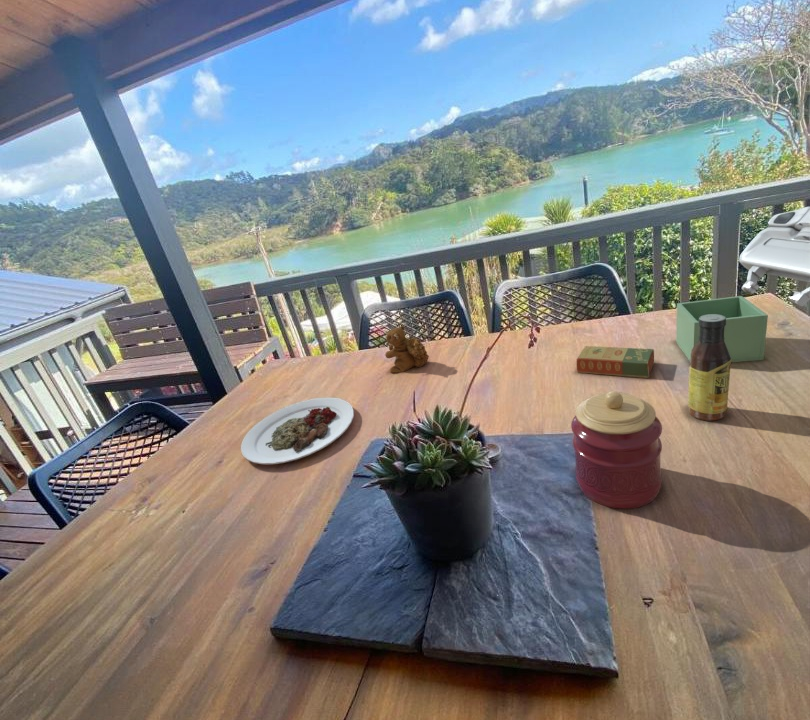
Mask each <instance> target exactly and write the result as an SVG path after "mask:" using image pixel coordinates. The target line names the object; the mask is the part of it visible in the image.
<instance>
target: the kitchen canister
mask: <svg viewBox="0 0 810 720" xmlns="http://www.w3.org/2000/svg"><path fill="white" fill-rule="evenodd" d="M570 424H571V425H570V427H571V431H572V433H573V438H572V447H573V449H574V460H575V461H574V462H575V467H574V468H575V469H574V473H575V479H576V482H577V484H578V488H579V489H580V491H581V492H582V493H583V494H584V495H585V496H586V497H587V498H588V499H590V500H591V501H594V502H595V503H597V504H599V505H601V506H604V507H609V508H613V509H621V510H624V509H626V510H628V509H635V508H640V507H644V506H646V505H648V504H650V503H652V502H653V501H654V500H655V499H656V498H657V497H658V496H659V494H660V490H661V487H662V482H663V480H662V476H663V475H662V472H661V457H662V456H661V453H662V450H663V444H662V441H661V438H660V437H661V435H662V432H663V425H662V423H661V421H660V419H659V418H658V417H657V414H656V410H655V408H654V407H653V406H652V405H651V404H650V403H649V402H648V401H646V400H644V399H643V398H639V397H637V396H635V395H633V394H629V393H625V392H618V391H613V390H612V391H608V392H603V393H598V394H595V395H593V396H591V397H589V398H587V399H585V400H583V401H581V402H580V403H579V404H578V405H577V407H576V409H575V414H574V416H573V418H572V420H571V423H570Z"/></svg>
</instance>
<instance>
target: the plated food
mask: <svg viewBox="0 0 810 720" xmlns="http://www.w3.org/2000/svg"><path fill="white" fill-rule="evenodd" d="M354 417H355V410H354V409H353V406H352V404H351V403H350V402H348V401H347V400H345V399H343V398H338V397H316V398H310V399H305V400H302V401H298V402H295V403H292V404H288V405H287V406H284V407H282V408H280V409H278V410H276V411H274V412H272V413H270V414H268V415H266V417H265V418H263V419H261V420H260V421H258V422H257V423H256V424H255V425H254V426H253V427H251V428H250V429H249V431H247V433H246V434H245V435H244V437H243V439H242V442H241V443H240V444H241V445H240V451H241V455H242V456H243V457H244V459H246V460H247V461H249V462H251V463H252V464H259V465H278V464H284V463H290V462H293V461H297V460H300V459H302V458H305V457H307V456H310V455H313V454H315V453H316V452H318V451H321V450H322V449H324V448H325V447H327V446H329V445H331V444H332V443H333V442H335V441H336V440H337V439H339V438H340V437H341V436H342V435H343V434H345V432H346V431H347V430H348V428H349V427H350V426H351V424H352V422H353V420H354Z"/></svg>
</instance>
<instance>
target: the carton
mask: <svg viewBox="0 0 810 720" xmlns="http://www.w3.org/2000/svg"><path fill="white" fill-rule="evenodd" d="M654 365H655V350H654V349H653V348H639V347H638V348H637V347H613V346H596V345H595V346H594V345H593V346H592V345H586V346H584V347H583V348H582V350H581V351H580V353H579V355H578V356H577V358H576V372H577V373H580V374H581V373H582V374H593V375H594V374H595V375H607V376H616V377H617V376H618V377H628V378H639V379H649V378H650V376H651V372H652V369H653V367H654Z"/></svg>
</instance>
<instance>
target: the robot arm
mask: <svg viewBox="0 0 810 720" xmlns="http://www.w3.org/2000/svg"><path fill="white" fill-rule="evenodd" d="M767 224H768V225H769V226H768V227H766V228H764V229H762V230H761V231H760V232H759V233H758V234H757V235H755V237H753V239H751V241H750V242H749V243H748V244H747V245H746V247H745V248H744V250H743V251H742V252H741V253H740V254H739V259H738V260H739V261H738V262H739V264H740V265H742V267H744V268H745V269H746V270H748V272H747V277H746V281H745V283H744V284H743V285H742V286H741V290H742V291H743V292H744V293H747V294H751V295H752V294H755V293H756V291H757V290H758V289H760V286H759V284H758V281H759V278H760V279H761V278H763V277H764V275H766V274H767V275H771V276H777V277H781V278H786V279H791V280H797V281H801V282H807V283H810V206H805V207H802V208H799V209H795V210H790V211H787V212H782V213H777V214H774V215H772V217H771V218H770V219H769V220H768V222H767ZM809 301H810V286H809V287H807V288H806V289H803V290H801V291H797V290H796V291H795V292H794V293H793V295H792V296H791V297H790V298H789V303H791V304H792V305H794V306H797V307H805V305H806V304H808V303H809Z"/></svg>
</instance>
